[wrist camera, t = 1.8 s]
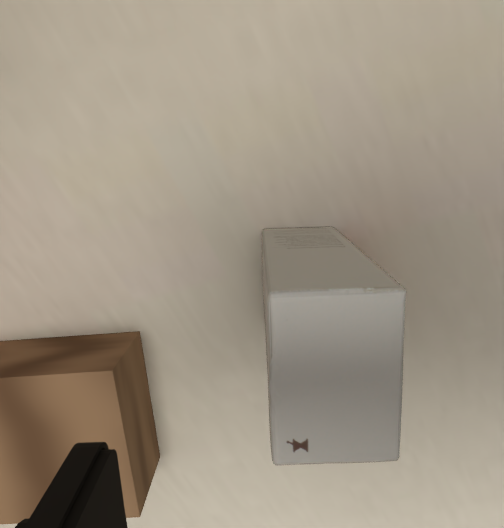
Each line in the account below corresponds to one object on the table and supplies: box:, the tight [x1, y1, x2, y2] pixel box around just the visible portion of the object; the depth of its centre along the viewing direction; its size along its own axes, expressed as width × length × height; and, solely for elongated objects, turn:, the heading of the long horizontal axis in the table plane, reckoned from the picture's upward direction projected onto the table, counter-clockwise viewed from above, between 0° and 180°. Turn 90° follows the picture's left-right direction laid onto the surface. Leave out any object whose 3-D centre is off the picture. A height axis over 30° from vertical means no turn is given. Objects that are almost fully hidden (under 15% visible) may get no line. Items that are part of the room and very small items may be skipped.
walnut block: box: [0, 331, 160, 524], centre depth 24 cm, size 9×9×5 cm
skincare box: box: [262, 227, 406, 465], centre depth 18 cm, size 6×4×12 cm
